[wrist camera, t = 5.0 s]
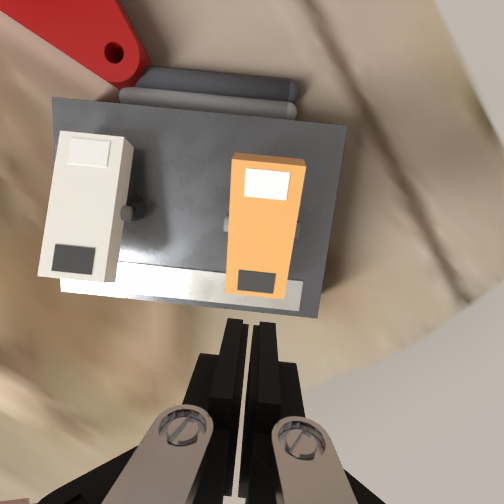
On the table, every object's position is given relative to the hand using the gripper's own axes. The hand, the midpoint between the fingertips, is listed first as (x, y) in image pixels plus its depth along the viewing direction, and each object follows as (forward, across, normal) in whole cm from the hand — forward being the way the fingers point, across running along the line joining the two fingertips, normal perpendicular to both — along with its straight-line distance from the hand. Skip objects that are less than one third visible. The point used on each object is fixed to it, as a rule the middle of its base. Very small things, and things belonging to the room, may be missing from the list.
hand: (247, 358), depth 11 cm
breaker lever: (+10, 0, -3) cm, 11 cm away
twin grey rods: (+17, +5, -12) cm, 22 cm away
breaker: (+10, +11, -3) cm, 15 cm away
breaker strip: (+17, +5, -3) cm, 18 cm away
